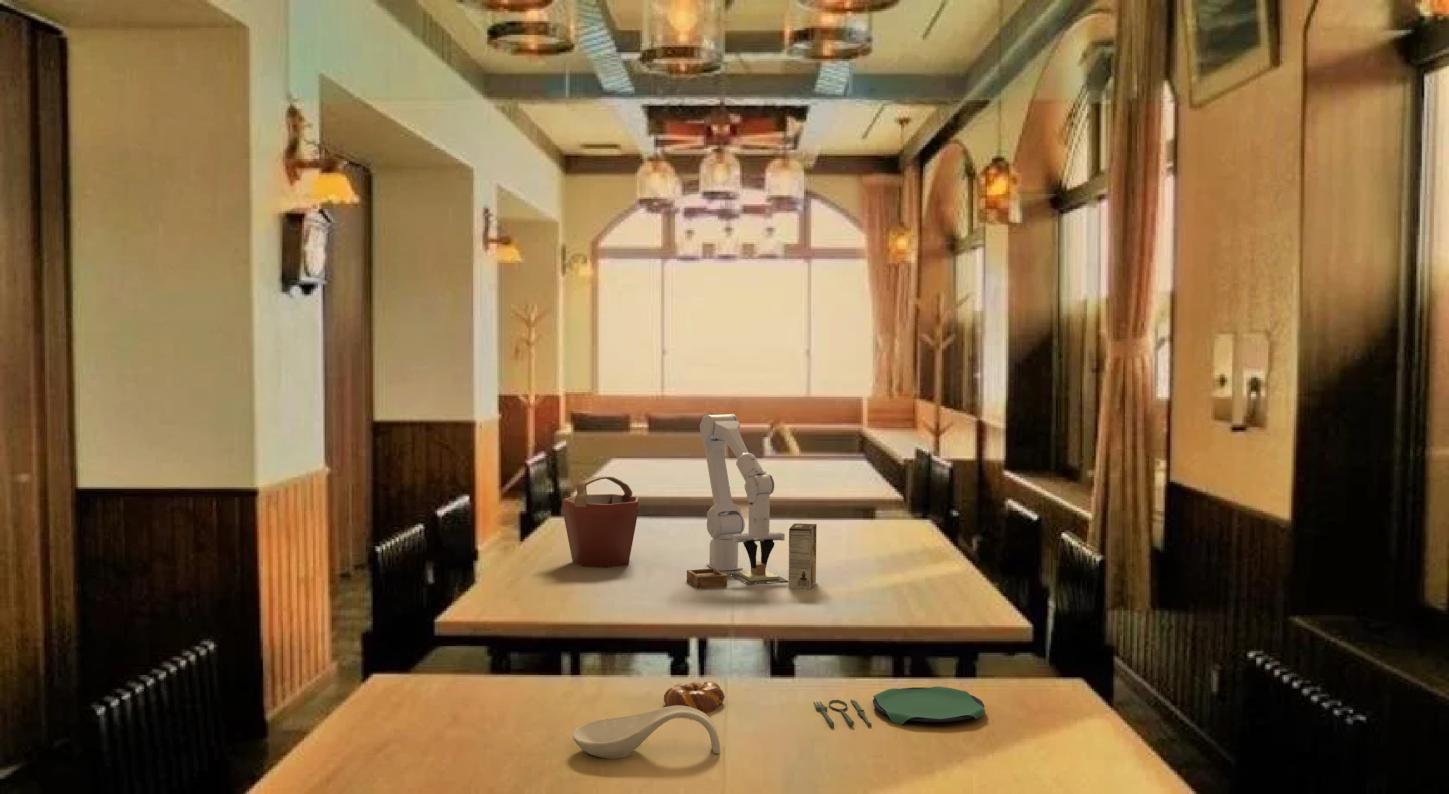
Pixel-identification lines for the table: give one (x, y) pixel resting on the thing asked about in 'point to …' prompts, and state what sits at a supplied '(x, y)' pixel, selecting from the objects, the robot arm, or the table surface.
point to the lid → (758, 573)
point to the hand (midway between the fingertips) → (758, 567)
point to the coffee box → (802, 555)
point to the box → (706, 578)
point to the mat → (757, 581)
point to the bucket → (600, 525)
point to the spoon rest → (635, 731)
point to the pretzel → (695, 696)
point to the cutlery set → (917, 705)
